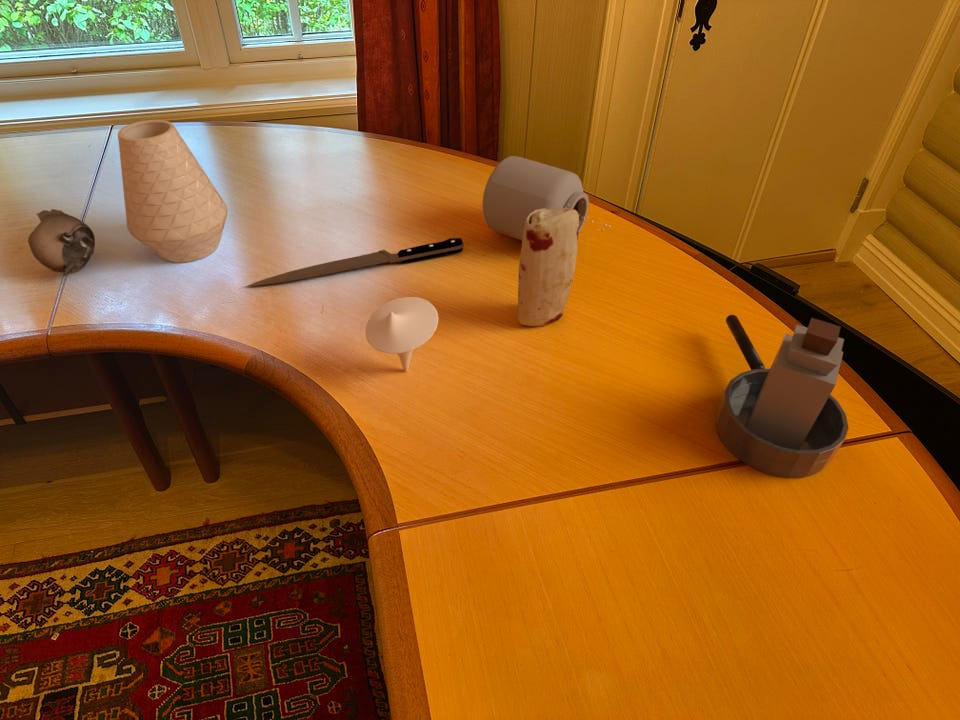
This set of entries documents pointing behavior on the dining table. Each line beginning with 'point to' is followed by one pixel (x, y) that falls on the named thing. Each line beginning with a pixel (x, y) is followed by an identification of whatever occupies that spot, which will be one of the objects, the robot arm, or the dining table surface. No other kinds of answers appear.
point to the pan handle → (744, 343)
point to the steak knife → (370, 261)
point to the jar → (529, 194)
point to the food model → (547, 265)
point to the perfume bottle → (797, 384)
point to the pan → (767, 455)
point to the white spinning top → (401, 327)
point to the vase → (168, 193)
